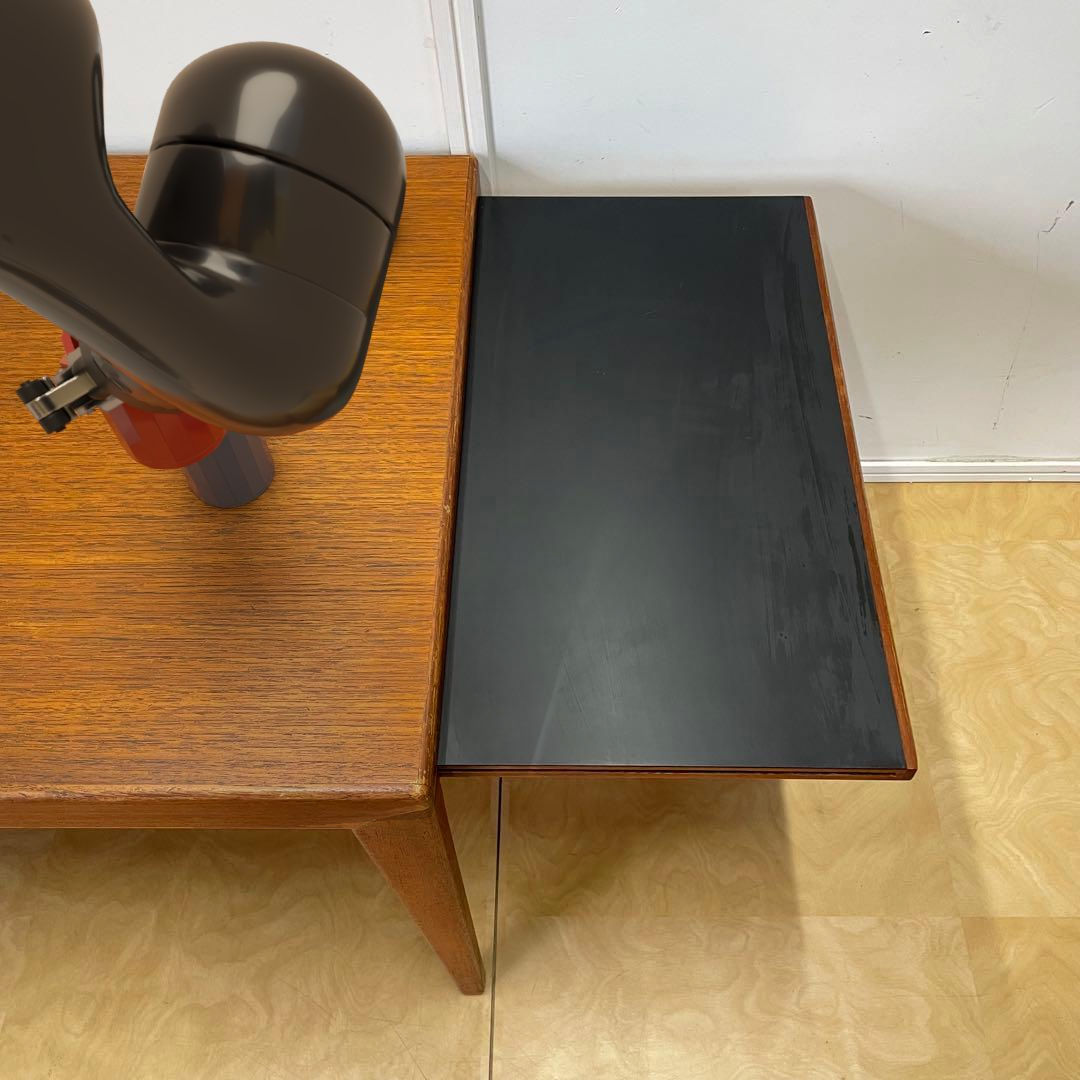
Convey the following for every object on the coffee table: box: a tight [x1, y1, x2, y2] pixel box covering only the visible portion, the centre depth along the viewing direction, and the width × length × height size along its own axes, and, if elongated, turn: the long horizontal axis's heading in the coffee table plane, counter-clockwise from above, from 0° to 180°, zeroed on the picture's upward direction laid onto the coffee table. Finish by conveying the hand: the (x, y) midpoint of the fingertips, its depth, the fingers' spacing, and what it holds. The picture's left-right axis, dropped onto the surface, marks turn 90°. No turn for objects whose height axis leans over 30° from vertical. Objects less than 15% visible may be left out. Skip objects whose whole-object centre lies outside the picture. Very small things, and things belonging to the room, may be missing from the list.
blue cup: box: [179, 430, 275, 509], centre depth 69 cm, size 7×7×9 cm
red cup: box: [60, 330, 227, 471], centre depth 55 cm, size 7×7×9 cm
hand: (134, 361), depth 55 cm, fingers closed on red cup, 6 cm apart
